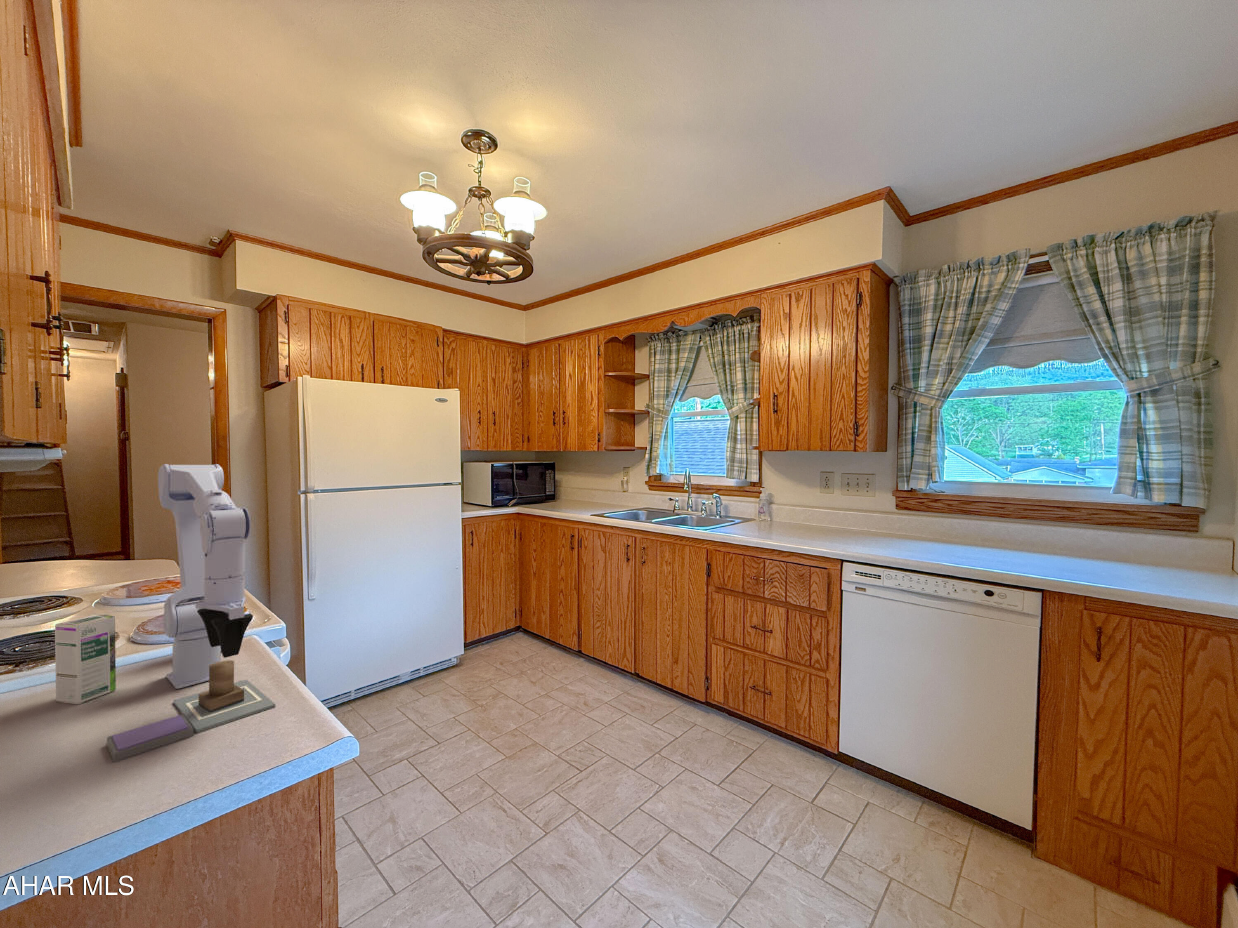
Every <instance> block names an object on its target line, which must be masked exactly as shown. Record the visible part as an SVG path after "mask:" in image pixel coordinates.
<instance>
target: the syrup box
mask: <svg viewBox="0 0 1238 928" xmlns="http://www.w3.org/2000/svg"><path fill="white" fill-rule="evenodd" d="M54 637H55V638H54V644H55V646H54V648H55V649H54V651H55V653H54V654H55V655H54V656H55V661H54V662H55V701H56V702H60V703H65V704H73V705H81V704H83V703H84V702H87V701H91V700H92V699H96V698H98V697H101V696H104V695H106V694H110V693H113V692H115V691H116V688H117V684H116V682H117V679H116V676H117V675H116V673H117V672H116V671H117V670H116V669H117V667H116V658H117V657H116V655H117V654H116V652H117V651H116V616H114V615H109V614H91V615H89V616H84V617H79V618H77V619H76V618H75V619H71V620H68V621H63V622H59V623H56V624H55V625H54Z"/></svg>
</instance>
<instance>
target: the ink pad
mask: <svg viewBox="0 0 1238 928" xmlns="http://www.w3.org/2000/svg"><path fill="white" fill-rule="evenodd" d="M192 736H193V737H194V729H193V727H192V726H191V724H190V723H189V722H188V720H187V719H186V718H185V716H184V715H183V714H182V713H181V714H178V715H175V716H172V717H168V718H165V719H161V720H159V721H155V722H153V723H149V724H147V725H143V726H139V727H135V728H132V729H130V730H127V731H122V732H120V733H117V734H113V735H110V736H109V735H108V736H107V737H106V746H107V747H106V748H107V749H108V751H109V754H110V756H111V758H112V761H113V763H116V762H119V761H122V760H123V759H128V758H131V757H133V756H135V755H139V754H143V753H145V752H148V751H152V750H155V749H157V748H161V747H162V746H167V745H169V744H173V743H175V742H178V741H181V740H184V739H187V738H190V737H192Z"/></svg>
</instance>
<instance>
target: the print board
mask: <svg viewBox="0 0 1238 928" xmlns="http://www.w3.org/2000/svg"><path fill="white" fill-rule="evenodd" d="M234 685H236V686H238V687H240V688H241V689H243V690H244V701H242V702H239V703H236V704H234V705H231V706H228V707H225V708H222V709H219V710H216V711H214V712H211V713H210V712H209V711H207V710H205V709H204V708H202V707H201V706H199V694H200V693H203V692H206V691H209V689H207V690H204V691H200V692H197V693H194V694H191V695H187V696H184V697H179V698H176V699H173V704H174V706H175V707H176V709H177V710H178V711H179V712H180V713H181V714H183V715H184V716H185V718H186V719H187V720H188V722H189V723H190V724H191V726H192V727H193V731H195V734H198V733H200V732H201V733H202V732H204V731H207V730H209V729H210V730H211V729H212V728H216V727H218V726H222V725H225V724H228V723H232V722H234V721H237V720H240V719H243V718H245V717H249V716H251V715H255V714H257V713H260V712H261V713H262V712H263V711H267V710H270V709H273V708H275V707H276V703H275V702H274V701H273V700H272V699H270V698H269V697H268V696H267V695H266V694H264V693H263V692H262V691H261V690H260V689H259V688H257V687H256V686H255V685H253V684H252V683H251V682H250V681H249V680H248V679H243V680H239V681H236V682H234Z"/></svg>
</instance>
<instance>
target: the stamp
mask: <svg viewBox="0 0 1238 928" xmlns="http://www.w3.org/2000/svg"><path fill="white" fill-rule="evenodd" d="M234 683H235V661H234V660H221V661H220V662H217V663H214V664H212V665H210V666H209V681H208V690H209V691H207V690H205V691H206V692H204V691H202V692H203V693H200V692H199V693H200V694H199V706H201V707H202V708H204V709H205V710H207V711H209V712H210V713H211V712H214V711H216V710H219V709H222V708H225V707H228V706H231V705H234V704H236V703H239V702H242V701H244V690H243V689H241V688H240V687H238V686H236V685H234Z"/></svg>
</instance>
